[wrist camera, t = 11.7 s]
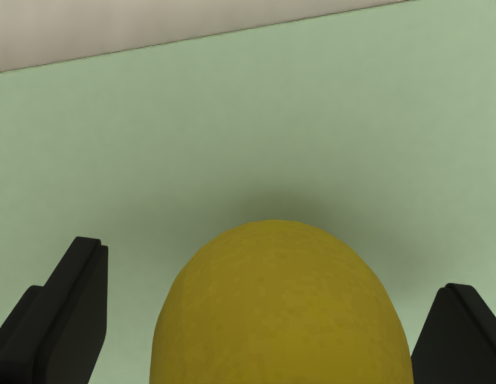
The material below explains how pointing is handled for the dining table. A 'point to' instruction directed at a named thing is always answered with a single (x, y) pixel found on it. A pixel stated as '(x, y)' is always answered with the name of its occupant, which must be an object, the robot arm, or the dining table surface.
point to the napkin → (259, 157)
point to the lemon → (278, 314)
